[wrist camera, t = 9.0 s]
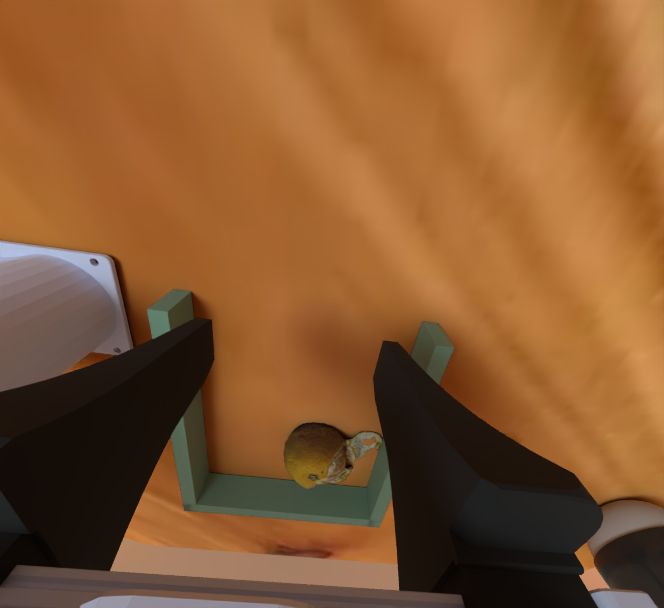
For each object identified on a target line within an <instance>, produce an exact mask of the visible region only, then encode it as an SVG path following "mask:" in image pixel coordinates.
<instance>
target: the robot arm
mask: <svg viewBox="0 0 664 608" xmlns="http://www.w3.org/2000/svg"><path fill="white" fill-rule="evenodd" d="M95 259H96V260H97V261H98V263H99V264H98V263H97V262H96V261H95ZM118 348H119V349H118ZM91 352H95V353H103V354H112V355H116V356H114V357H112V358H109V359H106V360H104V361H101V362H98V363H96V364H93V365H90V366H87V367H85V368H82V369H79V370H75V371H72V372H69V373H66V374H63V373H64V372H66V371H67V370H68V369H70V368H71V367H72V366H74V365H75V364H76V363H77V362H79V361H80V360H81V359H83V358H84V357H85V356H87V355H88V354H89V353H91ZM213 362H214V345H213V330H212V320H211V319H203V318H195V319H193V320H190V321H188V322H186V323H184V324H182V325H180V326H178V327H176V328H174V329H172V330H170V331H168V332H166V333H164V334H162V335H160V336H158V337H156V338H154V339H152V340H150V341H148V342H146V343H143V344H141V345H139V346H137V347H135V348H134V347H133V343H132V339H131V334H130V330H129V325H128V321H127V317H126V312H125V308H124V303H123V299H122V295H121V290H120V286H119V281H118V277H117V273H116V268H115V264H114V261H113V259H112V258H111V257H110V256H108V255H105V254H98V253H91V252H84V251H76V250H69V249H61V248H54V247H46V246H39V245H32V244H24V243H17V242H9V241H2V240H0V608H658V607H657V606H656V605H655V603H654V602H653V601H652V599H651V598H650V596H649V595H648V594H647V593H645V592H643V591H635V590H621V589H607V588H604V589H595V590H591V591H588V590H587V588H586V586H585V585H584V583H583V582H582V580H581V578H580V576H579V575H582V574H583V573H584V568H583V566H582V565H581V563H580V561H579V560H578V558H577V557H576V555H575V552H576V551H577V550H578V549H579V548H580V547H581V546H582V545H583V544H585V543H586V542H587V541H588V540H589V539H590V538H591V537H592V536H594V535H595V533H596V532H597V531H598V530H599V529H600V527H601V524H602V522H603V512H602V509H601V508H600V506H599V505H598V504H597V503H596V501H595V500H594V499H593V497H592V496H591V495H590V494H589V492H588V491H587V490H586V488H585V487H584V486H583V485H582V483H581V482H580V481H579V479H578V478H577V477H576V476H575V474H574V473H572V472H570V471H568V470H566V469H564V468H562V467H560V466H559V465H557V464H555V463H553V462H551V461H549V460H547V459H545V458H543V457H542V456H540V455H538V454H536V453H534V452H532V451H531V450H529V449H527V448H525V447H524V446H522V445H520V444H519V443H517V442H515V441H514V440H512V439H510V438H509V437H507V436H506V435H504V434H503V433H501V432H499V431H498V430H496V429H495V428H493V427H492V426H490V425H489V424H488V423H486V422H485V421H483V420H482V419H480V418H479V417H477V416H476V415H475V414H473V413H472V412H471V411H469V410H468V409H467V408H466V407H464V406H463V405H462V404H461V403H459V402H458V401H457V400H456V399H454V398H453V397H452V396H451V395H450V394H448V393H447V392H446V391H445V390H444V389H443V388H442V387H441V386H440V385H438V384H437V383H436V382H435V381H434V380H433V379H432V378H431V377H430V376H429V375H428V374H427V373H426V372H425V371H424V370H423V369H422V368H421V367H420V366H419V365H418V364H417V363H416V361H415V360H414V359H413V358H412V357H411V356H410V355H409V354H408V353H407V352H406V351H405V350H404V349H403V348H402V346H401V345H400V344H399V343H398V342H391V341H383V343H382V347H381V351H380V354H379V358H378V362H377V366H376V369H375V373H374V377H373V381H374V393H375V401H376V406H377V411H378V415H379V420H380V424H381V429H382V433H383V438H384V442H385V447H386V452H387V458H388V465H389V473H390V482H391V491H392V501H393V510H394V521H395V534H396V546H397V560H398V576H399V591H396V590H382V589H366V588H352V587H337V586H322V585H307V584H292V583H277V582H263V581H247V580H233V579H218V578H203V577H187V576H174V575H159V574H143V573H129V572H113V571H110V569H111V567H112V564H113V562H114V559H115V557H116V554H117V552H118V550H119V547H120V545H121V542H122V540H123V537H124V535H125V533H126V530H127V528H128V526H129V523H130V521H131V519H132V517H133V514H134V512H135V510H136V507H137V505H138V503H139V501H140V498H141V496H142V494H143V492H144V490H145V487H146V485H147V483H148V481H149V479H150V477H151V475H152V473H153V470H154V468H155V466H156V464H157V462H158V460H159V458H160V456H161V454H162V452H163V450H164V448H165V446H166V444H167V442H168V440H169V438H170V437H171V435H172V433H173V431H174V430H175V428H176V426H177V425H178V423H179V421H180V420H181V418H182V417H183V415H184V414H185V412H186V410H187V409H188V407H189V406H190V404H191V402H192V401H193V399H194V398H195V396H196V394H197V393H198V391H199V390H200V388H201V386H202V385H203V383H204V381H205V379H206V377H207V375H208V373H209V371H210V369H211V366H212V364H213ZM62 374H63V375H62Z"/></svg>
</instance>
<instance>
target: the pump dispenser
mask: <svg viewBox="0 0 664 608" xmlns="http://www.w3.org/2000/svg"><path fill="white" fill-rule="evenodd" d="M600 508H601V509H602V512H603V522H602V524H601V527H600V529H599V530H598V531H597V532H596V533H595V535H594V536H592V537H591V538H590V539H589V540H588V541H587V542H588V546H589V548H590V551H591V553H592V555H593V558H594V565H595V567H596V569H597V570H598V572H599V573H600V575H601V576H602V577H603V579H604V580H605V582H606V583H607V584H608V586H609V587H610V588H611V589H621V590H635V591H643V592H645V593H647V594H648V595H649V596H650V598H651V599H652V601H653V602H654V603H655V605H656V606H657V607H658V608H664V508H662V507H660V506H657V505H654V504H652V503H648V502H644V501H638V500H619V501H614V502H611V503H608V504H605V505H603V506H601V507H600Z"/></svg>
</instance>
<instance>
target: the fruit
mask: <svg viewBox="0 0 664 608" xmlns="http://www.w3.org/2000/svg"><path fill="white" fill-rule="evenodd" d="M373 437H375V438H376V441H375V442H374V443H373V444H372V445H371V446H368V445H365V444H364V443H363V440H365V439H372V438H373ZM382 444H383V443H382V438H381V437H380V435H379V434H378V433H374V432H368V431H364V432H359V434H358V435H356V436H355V437H354V438H353V439H350V440H345V439H343V437H342V436H341V435H340V434H339V433H338V432H337V431H336V430H335V429H334V428H332V427H330V426H327V425H325V424H323V423H314V422H313V423H305V424H302V425H300V426H298V427H297V428H296V429H294V431H293V432H292V433H291V434H290V436H289V438H288V440H287V441H286V442H285V448H284V462H285V466H286V468H287V470H288V472H289V473H290V475H291V476H292V477H293V479H294V480H295V481H296V482H297V483H298V484H300V485H301V486H302V487H304V488H307V489H309V488H311V487H315V486H317V485H318V484H321V485H325V484H328V483H337V482H339V481H343V480H345V479H346V477H347V476H348V475H349V474H350V473H351V472H352V471H351V469H353V466H352V467H348V468H345V465H346V460H347V459H349V460H350V461H356V460H359V459H360V458H361V457H363V456H364V454H365V453H366V452H367V451H368V450H369V449H371V448H376V449H377V450H378V449H379V447H380V446H381V445H382Z"/></svg>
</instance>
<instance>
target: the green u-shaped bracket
mask: <svg viewBox="0 0 664 608" xmlns="http://www.w3.org/2000/svg"><path fill="white" fill-rule="evenodd" d="M147 313H148V318H149V323H150V329H151V334H152V339H154V338H156V337H158V336H160V335H162V334H164V333H166V332H168V331H170V330H172V329H174V328H176V327H178V326H180V325H182V324H184V323H186V322H188V321H190V320H193V319H194V315H193V305H192V295H191V291H184V290H176V289H173V290H172V291H170V292H169V293H168V294H166V295H165V296H164V297H162V298H161V299H160V300H158V301H157V302H156V303H154V304H153V305H152V306H150V307H149V308H148V309H147ZM453 350H454V346H453V345H452V343H451V342H450V340H449V339H448V337H447V336H446V334H445V333H444V331H443V330H442V328H441V327H440V325H439V324H438V323H430V322H423V321H422V324H421V327H420V330H419V333H418V336H417V339H416V342H415V345H414V348H413V351H412V354H411V357H412V358H413V359H414V360H415V361H416V363H417V364H418V365H419V366H420V367H421V368H422V369H423V370H424V371H425V372H426V373H427V374H428V375H429V376H430V377H431V378H432V379H433V380H434V381H435V382H436V383H437V384H438V385H439V383H440V381H441V379H442V376H443V374H444V372H445V369H446V367H447V364H448V362H449V360H450V357H451V355H452V352H453ZM171 442H172V447H173V452H174V458H175V463H176V468H177V474H178V479H179V485H180V490H181V495H182V501H183V506H184V511H195V512H207V513H218V514H229V515H241V516H252V517H264V518H275V519H287V520H298V521H310V522H321V523H333V524H344V525H356V526H367V527H378V528H379V527H380V524H381V522H382V519H383V517H384V515H385V512H386V510H387V507H388V505H389V503H390V500H391V498H392V491H391V482H390V473H389V465H388V458H387V452H386V447H385V442H384V438H383V440H382V443H383V444H382V445H381V446H380V449H379V452H378V455H377V458H376V461H375V464H374V467H373V470H372V473H371V476H370V479H369V482H368V485H367V488H365V487H354V486H344V485H333V484H325V485H321V484H318V485H317V486H315V487H311V488H309V489H307V488H304V487H302V486H301V485H300V484H298V483H297V482H296V481H291V480H281V479H270V478H260V477H249V476H239V475H228V474H218V473H209V465H208V455H207V445H206V435H205V425H204V415H203V405H202V395H201V388H200V390H199V391H198V393H197V394H196V396H195V398H194V399H193V401H192V402H191V404H190V406H189V407H188V409H187V410H186V412H185V414H184V415H183V417H182V418H181V420H180V421H179V423H178V425H177V426H176V428H175V430H174V431H173V433H172V435H171Z"/></svg>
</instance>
